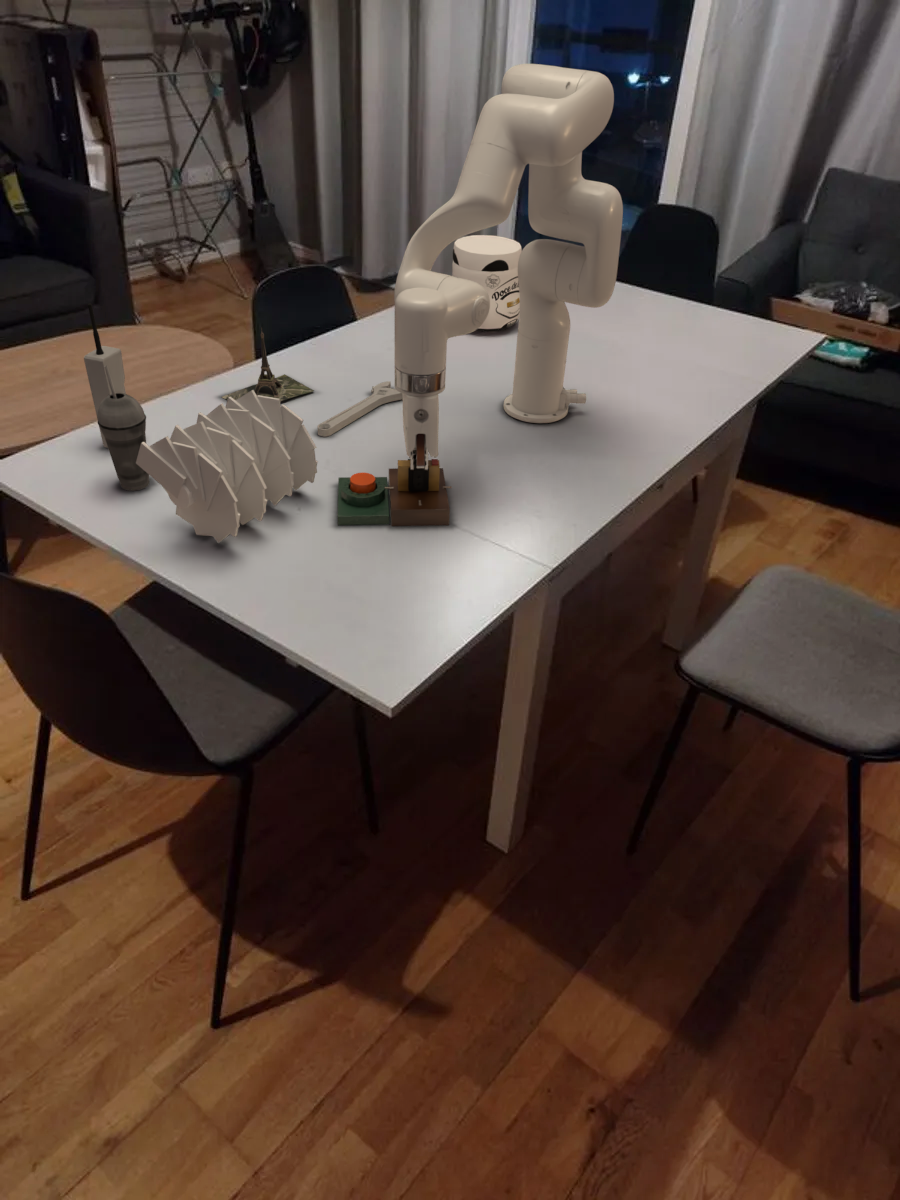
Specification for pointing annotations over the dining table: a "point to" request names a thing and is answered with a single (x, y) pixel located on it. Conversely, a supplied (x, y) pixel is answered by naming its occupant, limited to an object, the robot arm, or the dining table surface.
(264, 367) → the eiffel tower figurine
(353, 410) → the adjustable wrench
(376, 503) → the button housing
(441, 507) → the control panel
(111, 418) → the beverage cup
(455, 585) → the dining table surface
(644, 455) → the dining table surface
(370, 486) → the button
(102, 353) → the vintage mobile phone
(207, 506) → the spiral staircase
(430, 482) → the yellow box red tab
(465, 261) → the milk container
